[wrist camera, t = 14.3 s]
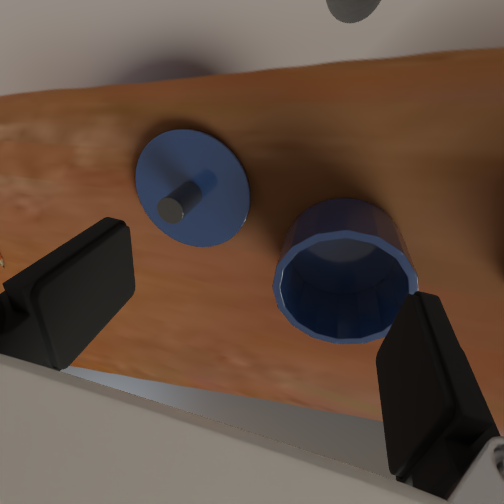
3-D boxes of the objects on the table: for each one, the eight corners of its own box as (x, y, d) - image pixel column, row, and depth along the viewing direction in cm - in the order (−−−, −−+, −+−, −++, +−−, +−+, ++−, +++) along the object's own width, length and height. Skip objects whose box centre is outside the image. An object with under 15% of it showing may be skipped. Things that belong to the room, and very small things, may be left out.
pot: (296, 187, 35) (286, 216, 28) (422, 211, 33) (444, 250, 26) (277, 282, 42) (264, 325, 35) (379, 307, 40) (388, 357, 33)
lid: (136, 117, 36) (97, 126, 30) (259, 139, 34) (243, 153, 28) (144, 229, 43) (115, 253, 38) (245, 253, 41) (230, 282, 36)
